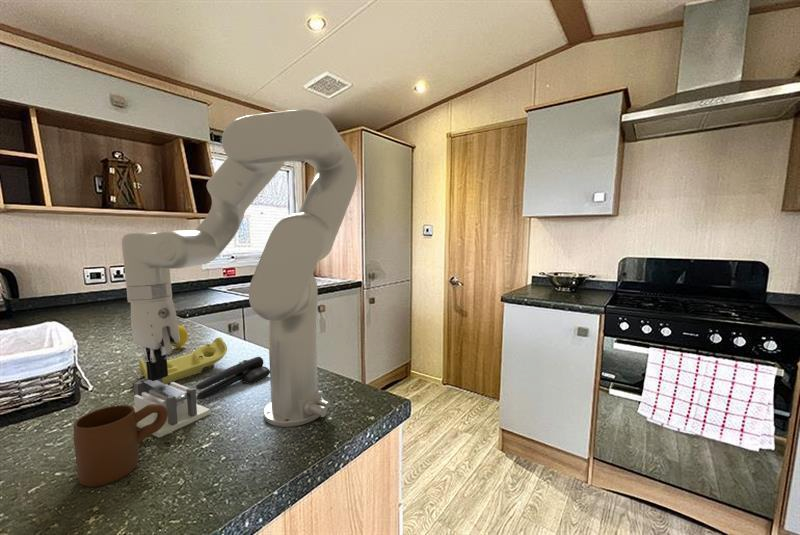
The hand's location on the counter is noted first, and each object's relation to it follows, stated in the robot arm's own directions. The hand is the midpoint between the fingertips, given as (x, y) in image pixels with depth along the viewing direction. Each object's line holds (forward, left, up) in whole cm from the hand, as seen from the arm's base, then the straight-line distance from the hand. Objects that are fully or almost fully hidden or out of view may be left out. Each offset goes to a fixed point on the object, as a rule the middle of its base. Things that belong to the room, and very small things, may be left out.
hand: (158, 377), depth 74 cm
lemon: (+40, -25, -8) cm, 48 cm away
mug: (-14, +12, -8) cm, 20 cm away
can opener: (-2, -16, -8) cm, 18 cm away
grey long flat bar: (-3, 0, -2) cm, 4 cm away
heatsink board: (-3, 0, -8) cm, 8 cm away
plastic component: (+17, -15, -8) cm, 24 cm away
